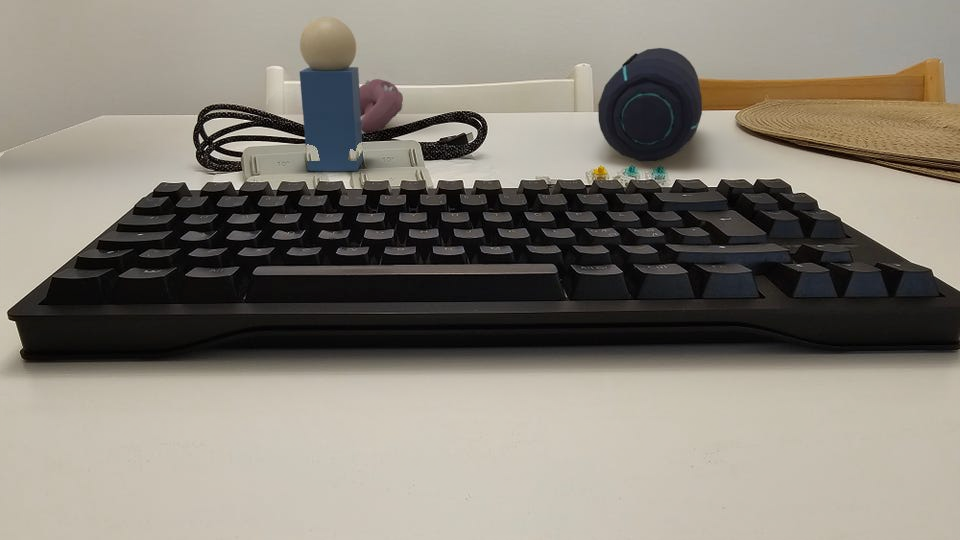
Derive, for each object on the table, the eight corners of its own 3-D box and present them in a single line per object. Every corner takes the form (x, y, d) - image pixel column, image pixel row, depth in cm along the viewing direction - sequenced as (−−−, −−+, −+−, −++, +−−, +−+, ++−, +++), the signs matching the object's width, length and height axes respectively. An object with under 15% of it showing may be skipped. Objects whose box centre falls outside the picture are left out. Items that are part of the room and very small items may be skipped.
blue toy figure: (305, 171, 64) (291, 17, 59) (315, 160, 69) (303, 16, 64) (359, 171, 64) (350, 17, 59) (365, 160, 69) (358, 16, 64)
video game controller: (392, 145, 84) (415, 91, 83) (359, 131, 81) (382, 75, 80) (364, 132, 92) (384, 83, 91) (333, 119, 89) (353, 68, 88)
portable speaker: (614, 125, 90) (620, 45, 86) (693, 129, 87) (703, 47, 84) (589, 166, 67) (596, 59, 63) (696, 173, 65) (709, 63, 61)
